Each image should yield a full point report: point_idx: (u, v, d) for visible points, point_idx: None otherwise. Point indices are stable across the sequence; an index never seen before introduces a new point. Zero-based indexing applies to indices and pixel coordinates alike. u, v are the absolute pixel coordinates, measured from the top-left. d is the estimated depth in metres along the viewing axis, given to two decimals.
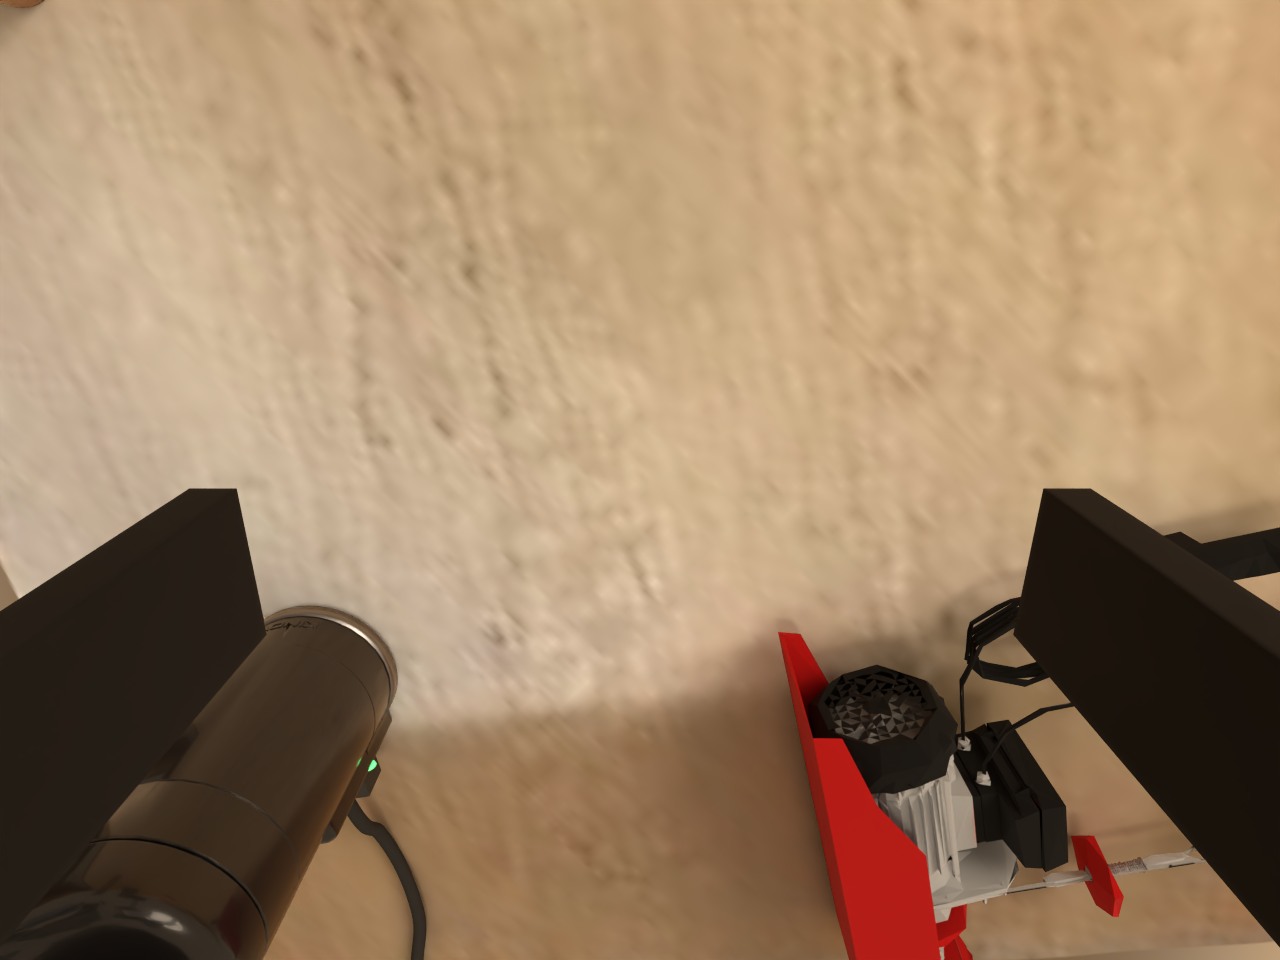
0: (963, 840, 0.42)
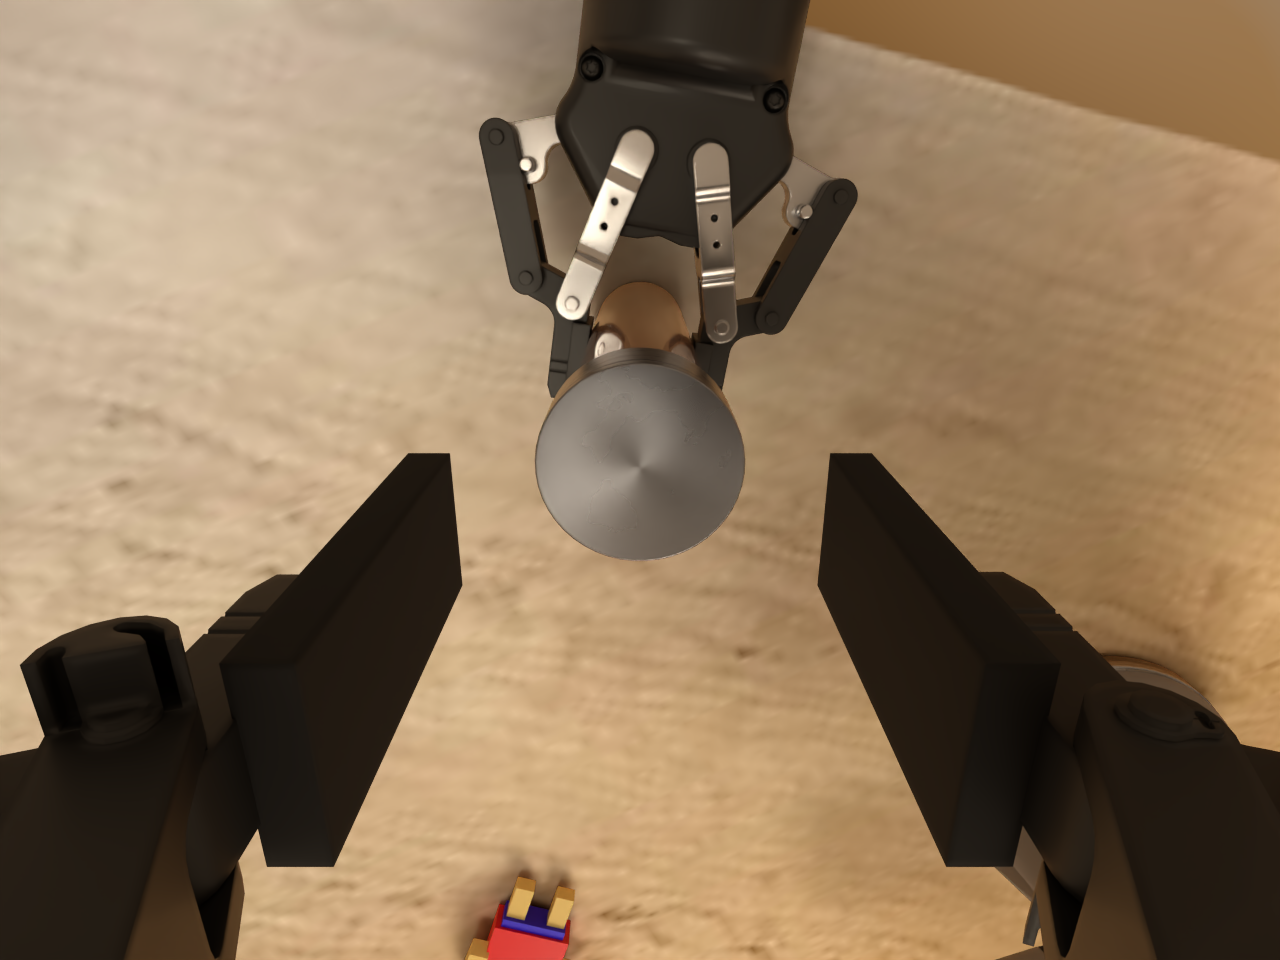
0: None
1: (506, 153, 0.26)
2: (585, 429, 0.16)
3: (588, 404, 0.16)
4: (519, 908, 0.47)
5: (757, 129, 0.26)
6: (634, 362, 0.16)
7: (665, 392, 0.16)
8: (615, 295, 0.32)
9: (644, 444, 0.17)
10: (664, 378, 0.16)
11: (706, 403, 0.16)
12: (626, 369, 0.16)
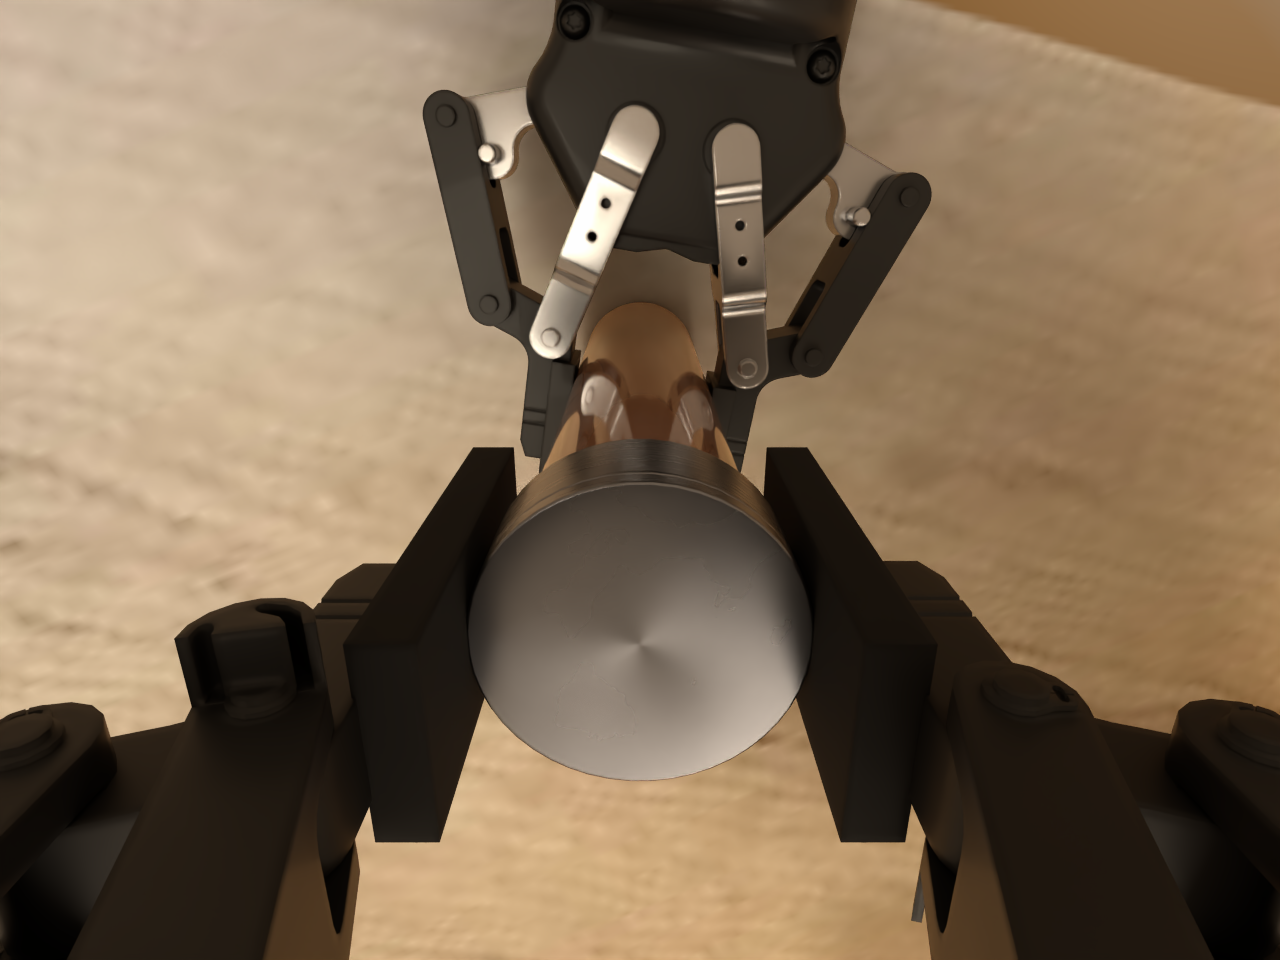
0: None
1: (460, 138, 0.19)
2: (549, 586, 0.10)
3: (552, 548, 0.10)
4: None
5: (798, 106, 0.19)
6: (631, 479, 0.09)
7: (683, 528, 0.10)
8: (609, 321, 0.25)
9: (648, 610, 0.10)
10: (682, 506, 0.09)
11: (752, 546, 0.10)
12: (618, 492, 0.09)
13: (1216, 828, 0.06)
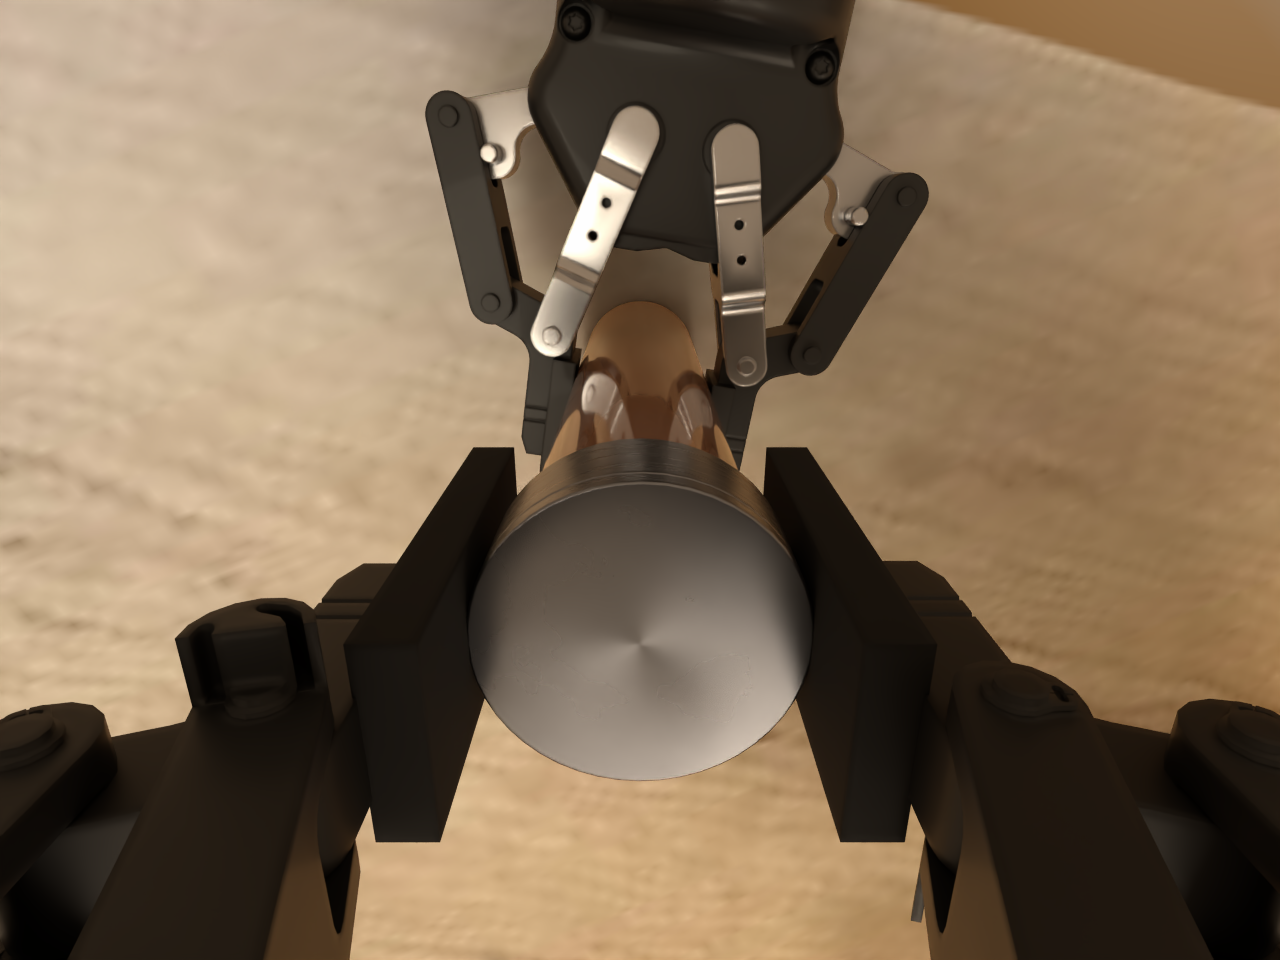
0: None
1: (462, 138, 0.19)
2: (571, 713, 0.11)
3: (531, 706, 0.10)
4: None
5: (797, 106, 0.19)
6: None
7: (513, 600, 0.10)
8: (609, 320, 0.25)
9: (600, 635, 0.10)
10: (489, 601, 0.10)
11: (533, 541, 0.10)
12: (475, 651, 0.10)
13: (1214, 827, 0.06)
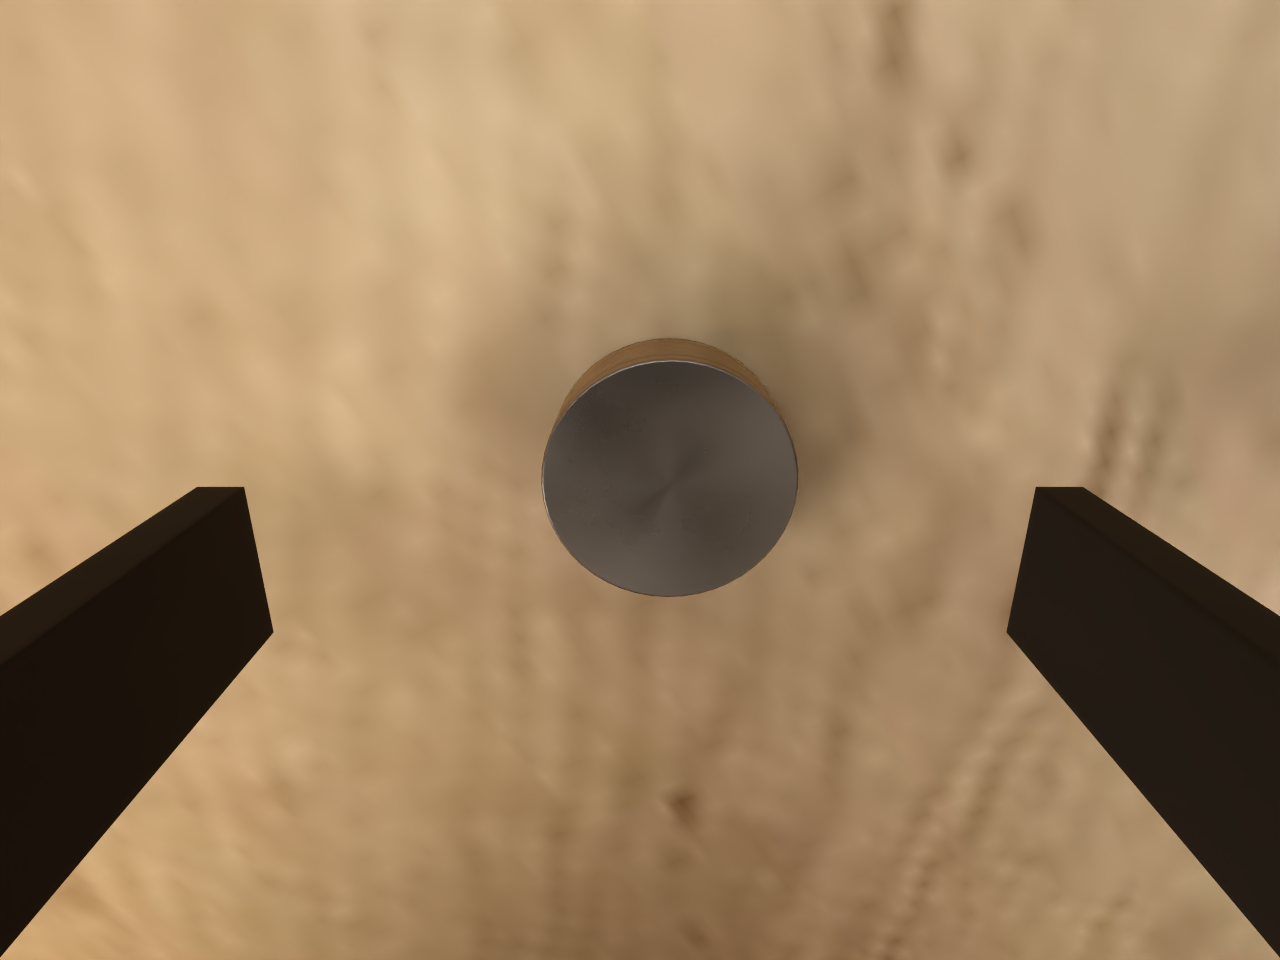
0: None
1: None
2: (617, 541, 0.14)
3: (587, 535, 0.14)
4: None
5: None
6: (542, 480, 0.14)
7: (577, 451, 0.14)
8: None
9: (641, 478, 0.14)
10: (559, 451, 0.14)
11: (592, 404, 0.13)
12: (548, 491, 0.14)
13: None
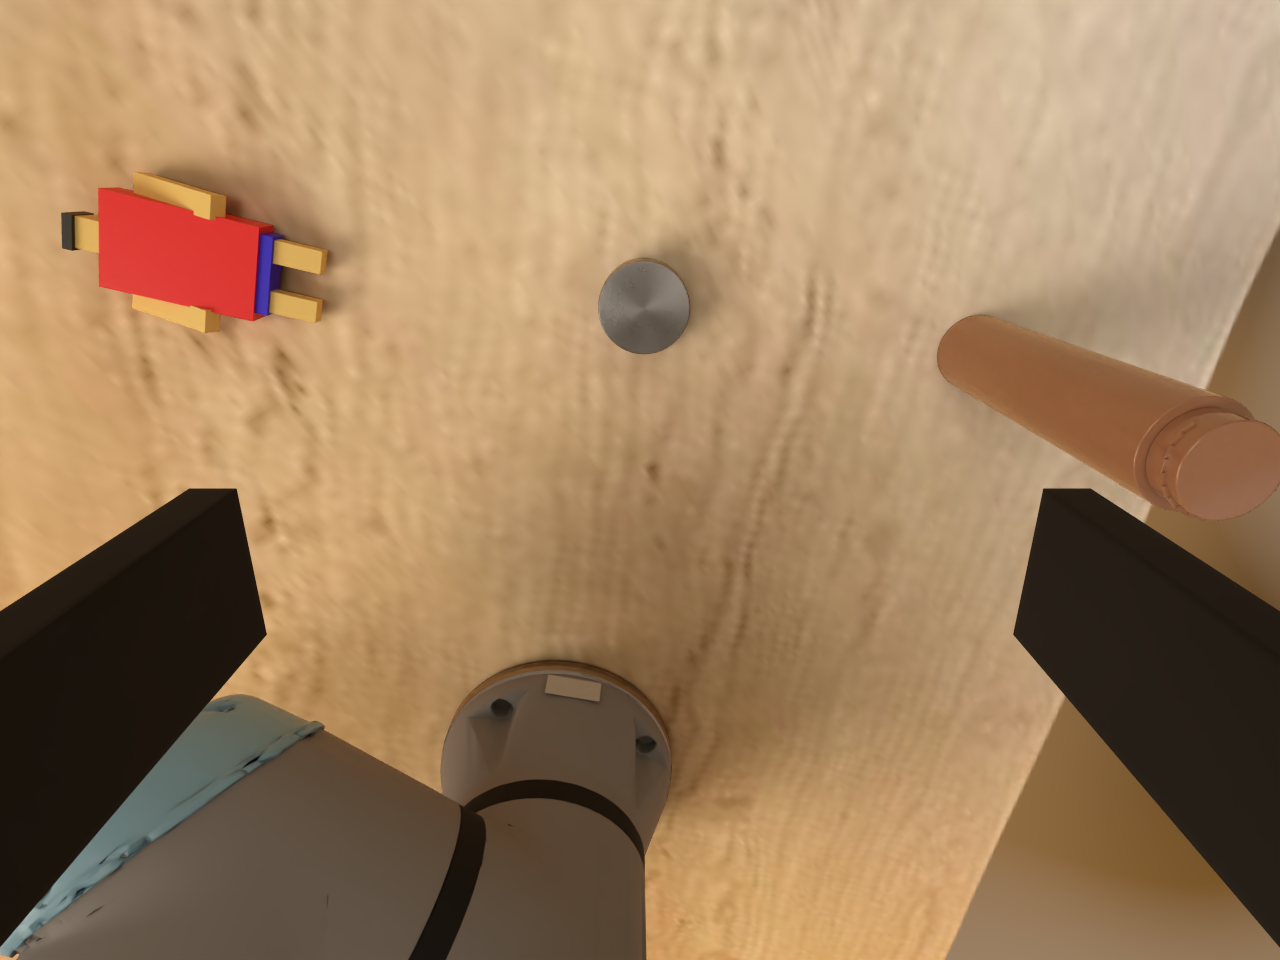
0: None
1: None
2: (625, 330, 0.39)
3: (614, 328, 0.39)
4: (290, 256, 0.38)
5: None
6: (598, 307, 0.39)
7: (611, 295, 0.38)
8: None
9: (633, 305, 0.38)
10: (605, 295, 0.38)
11: (617, 277, 0.38)
12: (600, 311, 0.39)
13: None
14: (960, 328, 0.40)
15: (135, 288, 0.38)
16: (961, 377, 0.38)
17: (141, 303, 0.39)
